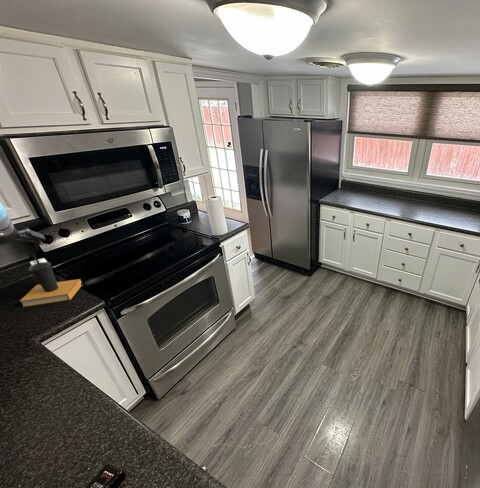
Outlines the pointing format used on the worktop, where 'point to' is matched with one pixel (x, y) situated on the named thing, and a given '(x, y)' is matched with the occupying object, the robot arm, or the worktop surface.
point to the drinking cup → (44, 275)
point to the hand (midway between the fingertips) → (13, 253)
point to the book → (51, 293)
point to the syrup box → (39, 262)
